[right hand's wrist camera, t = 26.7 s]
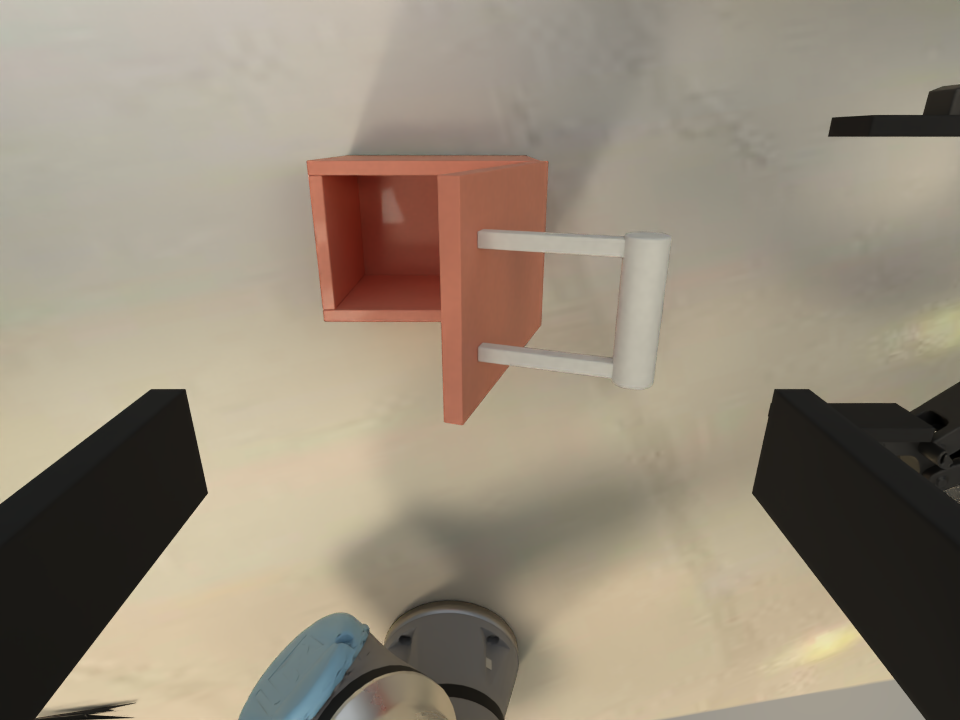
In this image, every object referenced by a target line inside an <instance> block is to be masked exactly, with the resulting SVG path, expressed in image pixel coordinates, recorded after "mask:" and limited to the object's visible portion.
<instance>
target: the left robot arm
mask: <svg viewBox="0 0 960 720" xmlns="http://www.w3.org/2000/svg"><path fill="white" fill-rule="evenodd" d="M828 137H960V84H959V85H950V86H942V87H940V88H937V89H935V90H932V91H930V92H929V94H928V98H927V102H926V105H925V109H924V113H923V115H868V116H851V117H835V118H832V121H831V125H830V130H829V135H828ZM828 404H829V405H830V406H832V407H833V408H834V409H836V410H837V411H838V412H839V413H841V414H842V415H843V416H845V417H846V418H847V419H849V420H850V421H851V422H853V423H854V424H855V425H856V426H858V427H859V428H860V429H862V430H863V431H864V432H866V433H867V434H868V435H870V436H871V437H872V438H874V439H875V440H876V441H877V442H879V443H880V444H881V445H883V446H884V447H885V448H887V449H888V450H889V451H891V452H892V453H893V454H895V455H896V456H897V457H898V458H900V459H901V460H902V461H904V462H905V463H906V464H908V465H909V466H910V467H912V468H913V469H914V470H916V471H917V472H918V473H919V474H921V475H922V476H923V477H925V478H926V479H927V480H929V481H930V482H931V483H933V484H934V485H935V486H937V487H938V488H939V489H940V490H942V491H943V490H946V489H949V488H951V487H954V486H957V485H960V382H958V383H957V384H955V385H953V386H952V387H950V388H949V389H947V390H945V391H944V392H942V393H940V394H939V395H937V396H935V397H934V398H932V399H931V400H929V401H927V402H926V403H924V404H922V405H921V406H919V407H918V408H916V409H914V410H913V411H911V412H909V411H907V410H906V409H904V408H902V407H901V406H899V405H898V404H896V403H828ZM770 408H771V405H770ZM769 413H770V409H769ZM768 417H769V414H768ZM934 431H937V432H934ZM518 665H519V663H518V647H517V642H516V639H515V636H514V634H513V632H512V630H511V629H510V627H509V626H508V625H507V624H506V623H505V622H504V621H503V620H502V619H501V618H500V617H499V616H497V615H496V614H495V613H493V612H491V611H489V610H488V609H485V608H483V607H481V606H478V605H475V604H471V603H466V602H460V601H439V602H432V603H428V604H424V605H421V606H419V607H416V608H414V609H412V610H410V611H408V612H407V613H405V614H404V615H402V616H401V617H400V618H399V619H397V620H396V622H395V623H394V624H393V625H392V626H391V628H390V629H389V631H388V633H387V635H386V638H385V642H384V646H383V645H382V644H381V643H380V642H379V641H378V640H377V639H376V638H375V637H374V636H373V635H372V634H371V633H370V632H369V627H368V626H367V625H366V624H362V623H361V622H359V621H358V620H357V619H356V618H355V617H353V616H352V615H350V614H347V613H334V614H331V615H328V616H326V617H324V618H322V619H320V620H318V621H316V622H315V623H314V624H312V625H311V626H310V627H308V628H307V629H305V630H304V631H303V632H302V633H300V634H299V635H298V636H297V637H296V638H295V639H294V640H293V641H292V642H291V643H290V644H289V645H288V646H287V647H286V648H285V649H284V650H283V651H282V652H281V653H280V654H279V655H278V657H277V658H276V659H275V660H274V661H273V662H272V664H271V665H270V666H269V667H268V669H267V670H266V671H265V673H264V674H263V675H262V677H261V678H260V680H259V681H258V683H257V684H256V686H255V687H254V689H253V690H252V692H251V694H250V696H249V698H248V700H247V702H246V703H245V705H244V707H243V709H242V711H241V714H240V716H239V719H238V720H505V715H506V711H507V708H508V704H509V701H510V697H511V694H512V690H513V687H514V683H515V680H516V677H517V671H518Z"/></svg>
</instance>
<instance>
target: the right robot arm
mask: <svg viewBox="0 0 960 720" xmlns="http://www.w3.org/2000/svg"><path fill="white" fill-rule="evenodd" d="M207 494H208V491H207V487H206V482H205V477H204V473H203V468H202V463H201V459H200V454H199V450H198V445H197V440H196V436H195V431H194V426H193V422H192V417H191V413H190V408H189V403H188V399H187V394H186V389H151V390H149V391H148V392H147V393H145V394H144V395H143V396H142V397H140V398H139V399H138V400H136V401H135V402H134V403H132V404H131V405H130V406H128V407H127V408H126V409H124V410H123V411H122V412H121V413H119V414H118V415H117V416H115V417H114V418H113V419H111V420H110V421H109V422H107V423H106V424H105V425H104V426H102V427H101V428H100V429H98V430H97V431H96V432H94V433H93V434H92V435H90V436H89V437H88V438H86V439H85V440H84V441H83V442H81V443H80V444H79V445H77V446H76V447H75V448H73V449H72V450H71V451H69V452H68V453H67V454H65V455H64V456H63V457H62V458H60V459H59V460H58V461H56V462H55V463H54V464H52V465H51V466H50V467H48V468H47V469H46V470H44V471H43V472H42V473H41V474H39V475H38V476H37V477H35V478H34V479H33V480H31V481H30V482H29V483H27V484H26V485H25V486H23V487H22V488H21V489H20V490H18V491H17V492H16V493H14V494H13V495H12V496H10V497H9V498H8V499H6V500H5V501H4V502H2V503H1V504H0V720H34V719H35V718H36V717H37V715H38V714H39V713H40V711H41V710H42V709H43V708H44V706H45V705H46V704H47V702H48V701H49V700H50V698H51V697H52V696H53V694H54V693H55V692H56V691H57V689H58V688H59V687H60V685H61V684H62V683H63V681H64V680H65V679H66V678H67V676H68V675H69V674H70V672H71V671H72V670H73V668H74V667H75V666H76V664H77V663H78V662H79V661H80V659H81V658H82V657H83V655H84V654H85V653H86V651H87V650H88V649H89V648H90V646H91V645H92V644H93V642H94V641H95V640H96V638H97V637H98V636H99V635H100V633H101V632H102V631H103V629H104V628H105V627H106V625H107V624H108V623H109V621H110V620H111V619H112V618H113V616H114V615H115V614H116V612H117V611H118V610H119V608H120V607H121V606H122V605H123V603H124V602H125V601H126V599H127V598H128V597H129V595H130V594H131V593H132V592H133V590H134V589H135V588H136V586H137V585H138V584H139V582H140V581H141V580H142V578H143V577H144V576H145V575H146V573H147V572H148V571H149V569H150V568H151V567H152V565H153V564H154V563H155V562H156V560H157V559H158V558H159V556H160V555H161V554H162V552H163V551H164V550H165V548H166V547H167V546H168V545H169V543H170V542H171V541H172V539H173V538H174V537H175V535H176V534H177V533H178V532H179V530H180V529H181V528H182V526H183V525H184V524H185V522H186V521H187V520H188V519H189V517H190V516H191V515H192V513H193V512H194V511H195V509H196V508H197V507H198V505H199V504H200V503H201V502H202V500H203V499H204V498H205V496H206V495H207ZM752 494H753V495H754V496H755V498H756V499H757V500H758V502H759V503H760V504H761V505H762V507H763V508H764V509H765V511H766V512H767V513H768V515H769V516H770V517H771V519H772V520H773V521H774V522H775V524H776V525H777V526H778V528H779V529H780V530H781V532H782V533H783V534H784V535H785V537H786V538H787V539H788V541H789V542H790V543H791V545H792V546H793V547H794V548H795V550H796V551H797V552H798V554H799V555H800V556H801V558H802V559H803V560H804V562H805V563H806V564H807V565H808V567H809V568H810V569H811V571H812V572H813V573H814V575H815V576H816V577H817V578H818V580H819V581H820V582H821V584H822V585H823V586H824V588H825V589H826V590H827V592H828V593H829V594H830V595H831V597H832V598H833V599H834V601H835V602H836V603H837V605H838V606H839V607H840V608H841V610H842V611H843V612H844V614H845V615H846V616H847V618H848V619H849V620H850V621H851V623H852V624H853V625H854V627H855V628H856V629H857V631H858V632H859V633H860V635H861V636H862V637H863V638H864V640H865V641H866V642H867V644H868V645H869V646H870V648H871V649H872V650H873V651H874V653H875V654H876V655H877V657H878V658H879V659H880V661H881V662H882V663H883V664H884V666H885V667H886V668H887V670H888V671H889V672H890V674H891V675H892V676H893V678H894V679H895V680H896V681H897V683H898V684H899V685H900V687H901V688H902V689H903V691H904V692H905V693H906V694H907V696H908V697H909V698H910V700H911V701H912V702H913V704H914V705H915V706H916V708H917V709H918V710H919V711H920V713H921V714H922V715H923V717H924V718H925V719H926V720H960V504H959V503H958V502H956V501H955V500H954V499H952V498H951V497H950V496H948V495H947V494H946V493H944V492H943V491H942V490H940V489H939V488H938V487H937V486H935V485H934V484H933V483H931V482H930V481H929V480H927V479H926V478H925V477H923V476H922V475H921V474H919V473H918V472H917V471H916V470H914V469H913V468H912V467H910V466H909V465H908V464H906V463H905V462H904V461H902V460H901V459H900V458H898V457H897V456H896V455H895V454H893V453H892V452H891V451H889V450H888V449H887V448H885V447H884V446H883V445H881V444H880V443H879V442H877V441H876V440H875V439H874V438H872V437H871V436H870V435H868V434H867V433H866V432H864V431H863V430H862V429H860V428H859V427H858V426H856V425H855V424H854V423H853V422H851V421H850V420H849V419H847V418H846V417H845V416H843V415H842V414H841V413H839V412H838V411H837V410H836V409H834V408H833V407H832V406H830V405H829V404H828V403H826V402H825V401H824V400H822V399H821V398H820V397H818V396H817V395H816V394H815V393H813V392H812V391H811V390H809V389H774V394H773V399H772V403H771V408H770V413H769V417H768V422H767V426H766V431H765V436H764V440H763V445H762V450H761V454H760V459H759V463H758V468H757V473H756V477H755V482H754V486H753V491H752Z"/></svg>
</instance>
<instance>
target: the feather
mask: <svg viewBox="0 0 960 720" xmlns="http://www.w3.org/2000/svg"><path fill="white" fill-rule="evenodd" d="M130 704H134V703H130ZM125 705H129V704H124V705H117V706H111V707H104V708H98V709H91V710H85V711H78V712H72V713H66V714H59V715H53V716H46V717H40V718H35V719H34V720H94V719H119V718H132V717H115V716H98V715H90V714H97V713H98V712H101V713H104V712H106V711H111V712H112V711H114V710H110V709H111V708H116V707H120V706H125ZM124 716H125V715H124Z"/></svg>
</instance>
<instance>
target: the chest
mask: <svg viewBox="0 0 960 720" xmlns="http://www.w3.org/2000/svg"><path fill="white" fill-rule="evenodd" d="M530 161H539V160H536V159H534V158H531V157H528V156H527V155H345V156H339V157H331V158H323V159H316V160H308V161H307V170H308V175H309V187H310V196H311V205H312V214H313V223H314V233H315V242H316V251H317V260H318V269H319V278H320V288H321V297H322V306H323V309H324V310H323V315H324V321H325V322H441V292H440V254H439V217H438V180H437V176H438V175H441V174H448V173H455V172H462V171H469V170H475V169H482V168H489V167H496V166H503V165H510V164H517V163H523V162H530Z"/></svg>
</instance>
